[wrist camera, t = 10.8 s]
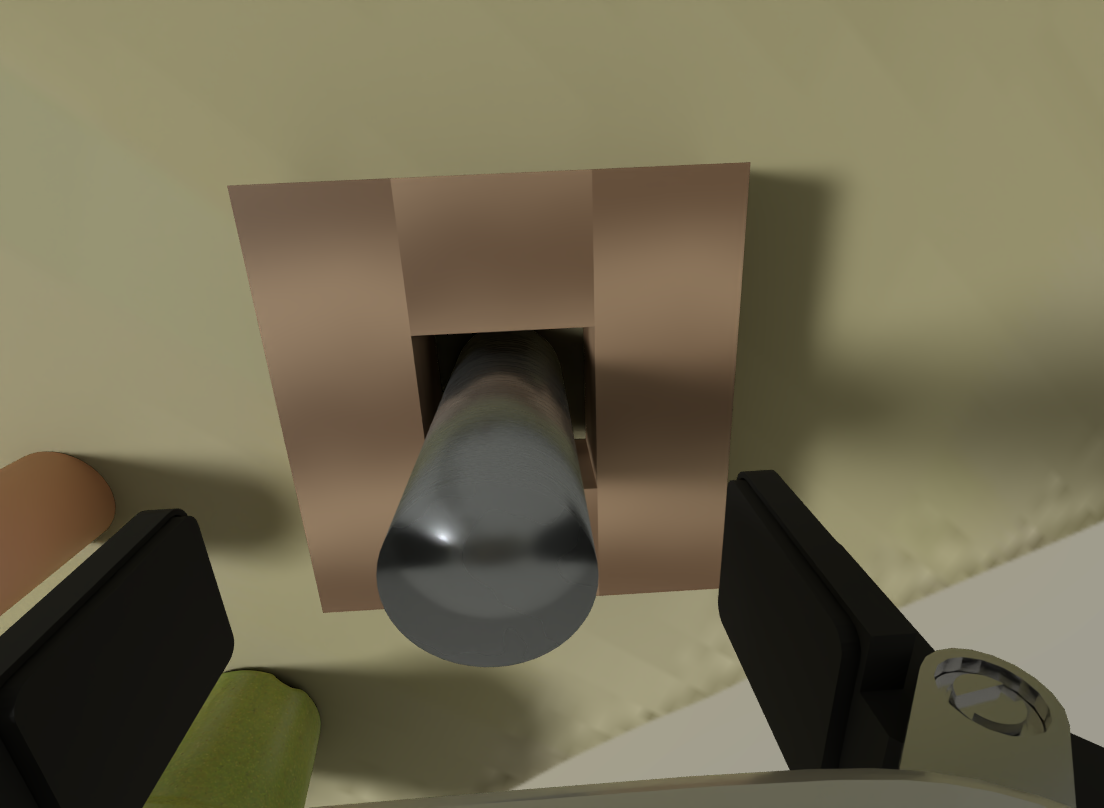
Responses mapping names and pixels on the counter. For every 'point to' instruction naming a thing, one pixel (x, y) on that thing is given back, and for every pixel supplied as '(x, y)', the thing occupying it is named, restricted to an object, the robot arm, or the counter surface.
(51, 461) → the short pin
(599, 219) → the socket block
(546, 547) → the long pin
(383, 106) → the counter surface
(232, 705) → the plant pot
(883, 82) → the counter surface
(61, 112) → the counter surface
